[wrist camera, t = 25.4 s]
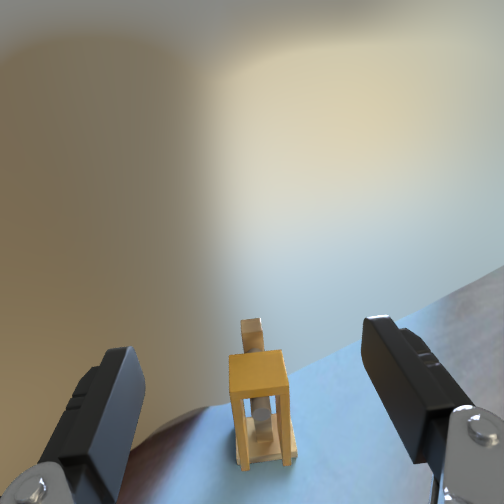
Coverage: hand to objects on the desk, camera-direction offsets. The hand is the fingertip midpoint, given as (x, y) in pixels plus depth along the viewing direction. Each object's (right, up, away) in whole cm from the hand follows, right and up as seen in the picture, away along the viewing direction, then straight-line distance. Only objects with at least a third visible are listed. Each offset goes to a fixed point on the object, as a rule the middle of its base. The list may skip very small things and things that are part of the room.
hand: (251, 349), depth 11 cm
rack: (+2, -21, +25) cm, 33 cm away
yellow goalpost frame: (+1, -16, +21) cm, 26 cm away
